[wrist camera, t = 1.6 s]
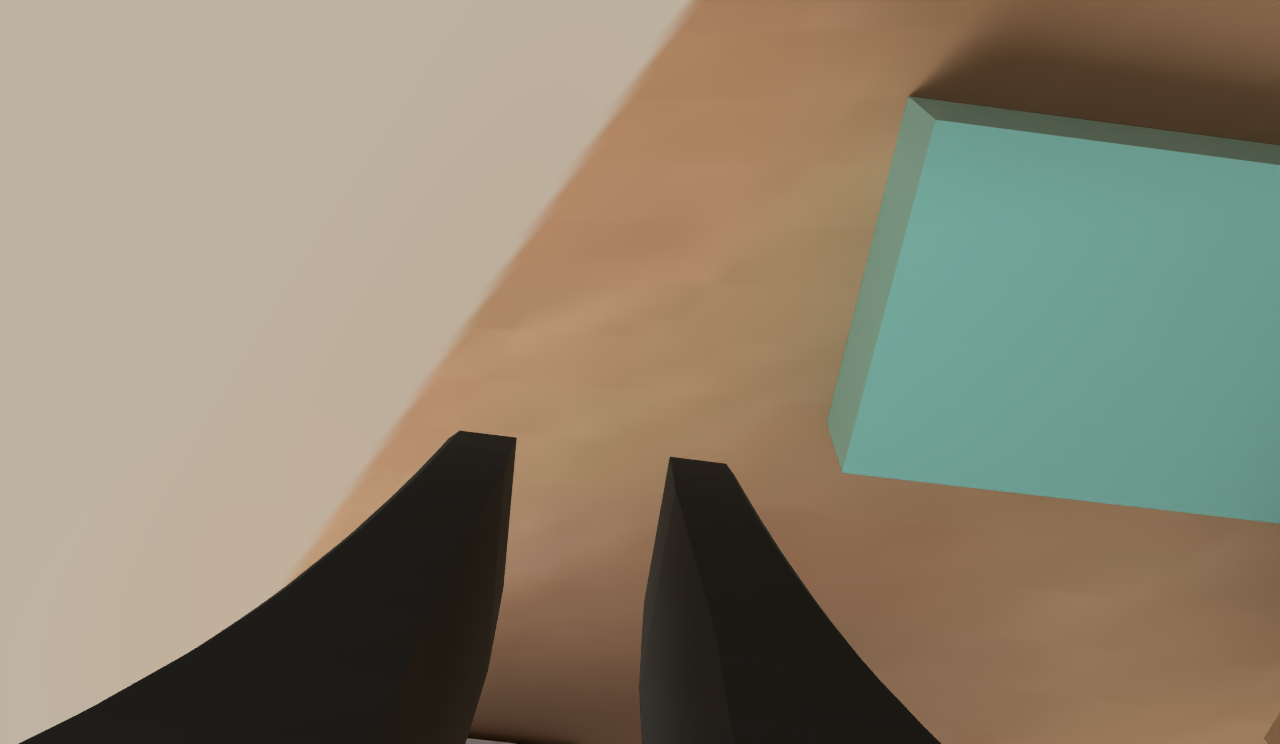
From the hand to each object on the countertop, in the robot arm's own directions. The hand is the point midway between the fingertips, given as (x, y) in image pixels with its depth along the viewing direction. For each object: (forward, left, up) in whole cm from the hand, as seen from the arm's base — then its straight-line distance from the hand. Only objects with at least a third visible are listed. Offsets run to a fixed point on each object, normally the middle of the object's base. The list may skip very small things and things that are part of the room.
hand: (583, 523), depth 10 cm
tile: (+10, 0, -10) cm, 14 cm away
